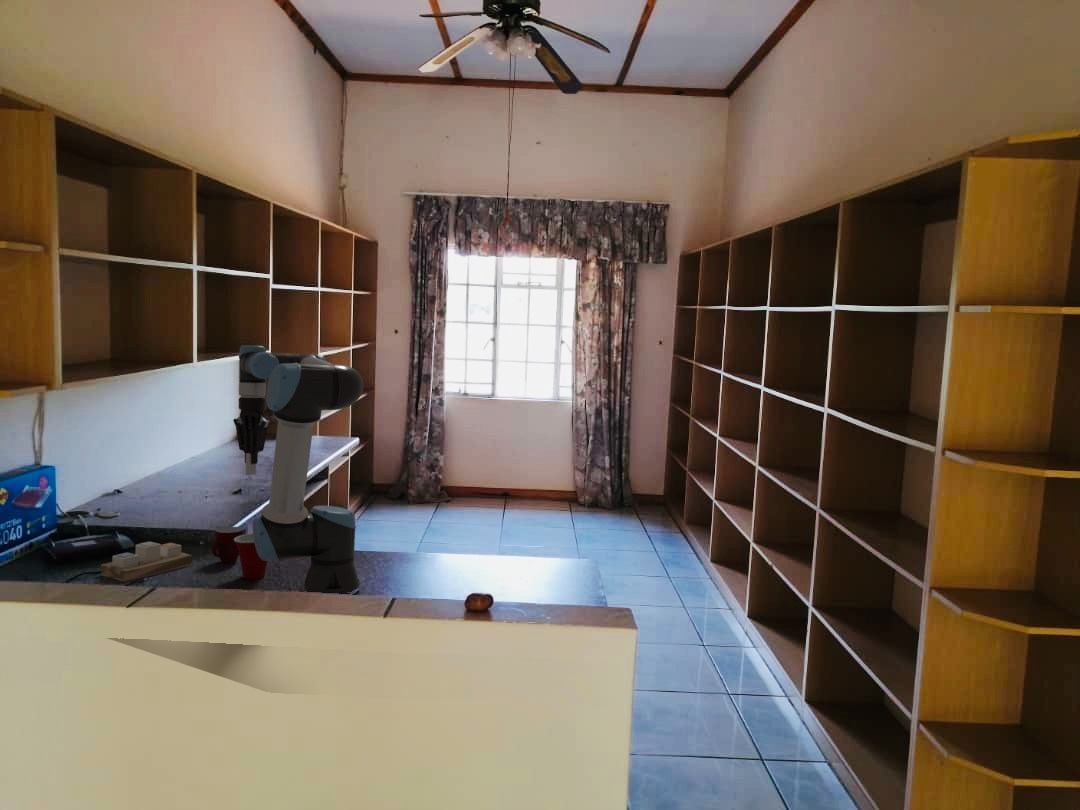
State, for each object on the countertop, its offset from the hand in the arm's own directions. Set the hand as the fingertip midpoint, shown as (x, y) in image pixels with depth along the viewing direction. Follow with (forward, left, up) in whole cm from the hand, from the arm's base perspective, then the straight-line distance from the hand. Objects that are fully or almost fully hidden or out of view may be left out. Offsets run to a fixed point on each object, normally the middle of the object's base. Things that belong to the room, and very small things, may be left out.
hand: (250, 474), depth 232 cm
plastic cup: (-11, +8, -28) cm, 31 cm away
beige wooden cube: (+17, +21, -25) cm, 37 cm away
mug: (+6, +3, -28) cm, 29 cm away
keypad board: (+17, +21, -28) cm, 39 cm away
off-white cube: (+17, +28, -27) cm, 43 cm away
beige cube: (+17, +14, -27) cm, 35 cm away
